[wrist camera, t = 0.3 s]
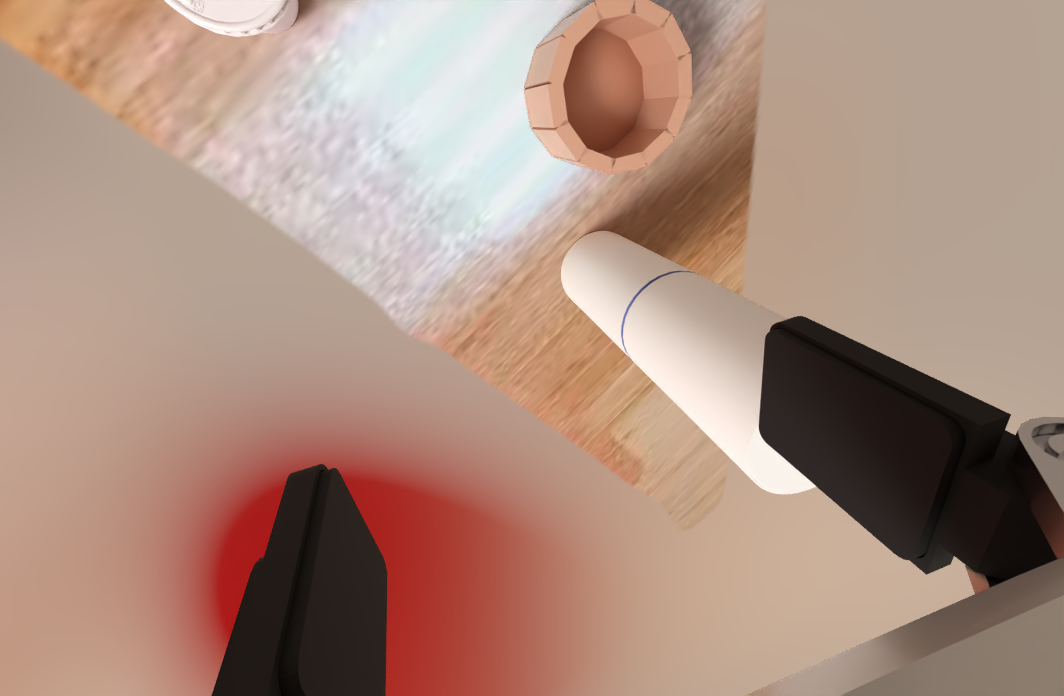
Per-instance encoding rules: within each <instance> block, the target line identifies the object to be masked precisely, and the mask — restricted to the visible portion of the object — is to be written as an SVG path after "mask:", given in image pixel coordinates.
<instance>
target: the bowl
mask: <svg viewBox="0 0 1064 696" xmlns="http://www.w3.org/2000/svg"><path fill="white" fill-rule="evenodd" d="M669 14H670V11H668V10H666V9H664V8H662V7H661V6H659V5H657V4H655V3H654V2H652V1H650V0H596V1H594V2H592V3H590V4H589V5H587V6H586V7H584V8H582V9H581V10H579V11H577V12H576V13H574V14H572V15H571V16H569V17H567V18H566V19H564V20H562V21H561V22H560V23H559V24H558V25H557V26H556V27H555V28H554V29H553V30H552V32H551V33H550V34H549V35H548V36H547V37H546V38H545V39H544V40H543V41H542V42H541V43H540V44H539V45H538V46H537V47H536V48H537V49H535V51H534V54H533V58H532V61H531V65H530V68H529V72H528V75H527V79H526V82H525V86H524V88H526V89H527V90H524V94H525V99H526V105H527V111H528V117H529V123H530V127H533V128H532V129H531V130H532V131H533V132H534V134H535V135H536V136H537V138H538V139H539V140H540V141H541V143H542V144H543V145H544V147H545V148H546V149H547V151H548V152H549V153H550V155H551V156H553V157H555V158H557V159H560V160H563V161H565V162H568V163H571V164H573V165H576V166H579V167H582V168H586V169H590V170H594V171H599V172H603V173H607V174H617V173H621V172H625V171H629V170H633V169H637V168H641V167H645V166H646V165H649V164H650V163H651V162H652V161H653V160H654V159H655V158H656V157H657V156H658V155H659V154H660V153H661V152H662V151H663V150H664V149H665V148H666V147H667V146H668V145H669V144H671V143H672V142H673V141H674V140H675V139H674V137H677V134H678V132H679V129H680V127H681V124H682V122H683V119H684V117H685V114H686V112H687V109H688V107H689V104H690V102H691V98H689V97H690V96H692V55H691V53H690V54H688V53H689V52H690V51H691V50H690V48H689V46H688V44H687V42H686V40H685V38H684V36H683V34H682V32H681V30H680V28H679V26H678V24H677V22H676V20H675V18H674V17H673V15H672V14H671V15H669Z"/></svg>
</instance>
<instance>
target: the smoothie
mask: <svg viewBox="0 0 1064 696" xmlns="http://www.w3.org/2000/svg"><path fill="white" fill-rule="evenodd" d="M165 1H166V2H167V3H168V4H169V5H170V6H171V7H173V8H174V9H175V10H176V11H178V12H179V13H181V14H182V15H184V16H185V17H187V18H188V19H190V20H191V21H192V22H194V23H195V24H197V25H199V26H202V27H204V28H206V29H208V30H211V31H213V32H215V33H219V34H224V35H230V36H236V37H240V36H250V35H257V34H259V33H261V32H264V33H281V32H284V31H286V30H287V29H289V28H290V27H291V26H292V25H293V24H294V22H295V20H296V18H297V14H298V0H165Z"/></svg>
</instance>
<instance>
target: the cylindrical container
mask: <svg viewBox="0 0 1064 696" xmlns="http://www.w3.org/2000/svg"><path fill="white" fill-rule="evenodd" d="M561 280H562V285H563V288H564V290H565V292H566V294H567V295H568V296H569V297H570V299H571V300H572V301H573V302H574V303H575V304H576V305H577V306H578V307H579V308H580V309H581V310H583V311H584V312H585V313H586V314H587V315H588V316H589V317H590V318H591V319H592V320H593V321H594V322H595V323H596V324H597V325H598V326H599V327H600V328H601V329H602V330H603V331H604V332H605V333H606V334H607V335H608V336H609V337H610V338H611V339H612V340H613V341H614V342H615V343H616V344H617V345H618V346H619V347H620V348H621V349H622V350H623V351H624V353H625V354H626V355H627V356H628V357H629V358H630V359H631V360H633V362H634V363H635V364H636V365H638V366H639V367H640V368H641V369H642V370H643V371H644V372H645V373H646V374H647V375H648V376H649V377H650V378H651V379H652V380H653V381H654V382H655V383H656V384H657V385H658V386H659V387H660V388H661V389H662V390H663V391H664V392H665V393H666V394H667V395H668V396H669V397H670V398H671V399H672V400H673V401H674V402H675V403H676V404H677V405H678V406H679V407H680V408H681V409H682V410H683V411H684V412H685V413H686V414H687V415H688V416H689V417H690V418H691V419H692V420H693V421H694V422H695V423H696V424H697V425H698V426H699V427H700V428H701V429H702V430H703V431H704V432H705V433H706V434H707V435H708V436H709V437H710V438H711V439H712V440H713V441H714V442H715V443H716V444H717V445H718V446H719V447H720V448H721V449H722V450H723V451H724V452H725V453H726V454H727V455H728V456H729V457H730V458H731V459H732V460H733V461H734V462H735V463H736V464H737V465H738V466H739V467H740V468H741V469H742V470H743V471H744V472H745V473H746V474H747V475H748V476H749V477H750V478H751V479H752V480H753V481H754V482H755V483H756V484H757V485H758V486H759V487H761V488H763V489H764V490H765V491H768V492H771V493H774V494H793V493H798V492H802V491H806V490H809V489H811V488H814V487H816V486H815V485H814V484H813V483H812V482H811V481H810V480H808V479H807V478H806V477H805V476H804V475H803V474H802V473H800V472H799V471H798V470H797V469H796V468H795V467H793V466H792V465H791V464H790V463H789V462H788V461H786V460H785V459H784V458H783V457H782V456H781V455H779V454H778V453H777V452H776V451H775V450H774V449H772V448H771V447H770V446H769V445H768V444H767V443H766V442H765V441H764V440H763V438H762V437H761V435H760V432H759V413H760V399H761V386H762V372H763V358H764V345H765V337H766V335H767V333H768V332H769V331H770V328H771V326H772V325H773V324H775V323H777V322H780V321H784V320H787V318H785V317H783V316H781V315H779V314H777V313H775V312H773V311H771V310H769V309H767V308H765V307H763V306H761V305H759V304H757V303H755V302H753V301H751V300H749V299H747V298H745V297H743V296H741V295H739V294H737V293H735V292H733V291H731V290H729V289H727V288H725V287H723V286H721V285H719V284H717V283H715V282H713V281H711V280H709V279H707V278H705V277H703V276H701V275H699V274H697V273H695V272H693V271H691V270H689V269H686V268H684V267H682V266H680V265H678V264H676V263H674V262H672V261H670V260H668V259H666V258H664V257H662V256H660V255H658V254H656V253H654V252H652V251H650V250H648V249H646V248H644V247H642V246H640V245H638V244H636V243H634V242H632V241H630V240H628V239H626V238H624V237H622V236H620V235H618V234H616V233H614V232H610V231H595V232H592V233H589V234H587V235H585V236H583V237H582V238H580V239H579V240H578V241H577V242H575V243H574V244H573V245H572V247H571V248H570V249H569V251H568V252H567V254H566V256H565V258H564V261H563V264H562V269H561Z"/></svg>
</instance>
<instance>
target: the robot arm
mask: <svg viewBox="0 0 1064 696" xmlns="http://www.w3.org/2000/svg"><path fill="white" fill-rule="evenodd" d="M1010 416H1011V414H1009V413H1006V412H1004V411H1002V410H1000V409H998V408H996V407H994V406H992V405H989V404H987V403H985V402H983V401H981V400H979V399H977V398H975V397H972V396H970V395H968V394H966V393H964V392H962V391H960V390H958V389H956V388H954V387H951V386H949V385H947V384H945V383H943V382H941V381H939V380H937V379H934V378H933V377H930V376H928V375H926V374H924V373H922V372H920V371H918V370H916V369H914V368H911V367H909V366H907V365H905V364H903V363H901V362H899V361H896V360H895V359H892V358H890V357H888V356H886V355H884V354H882V353H880V352H877V351H876V350H873V349H871V348H869V347H867V346H865V345H863V344H861V343H859V342H856V341H854V340H852V339H850V338H848V337H846V336H844V335H842V334H840V333H838V332H835V331H833V330H831V329H829V328H827V327H825V326H823V325H820V324H819V323H816V322H814V321H812V320H810V319H808V318H806V317H803V316H797V317H793V318H790V319H787V320H784V321H780V322H777V323H775V324H773V325H772V326H771V328H770V331H769V332H768V333H767V335H766V337H765V345H764V358H763V372H762V386H761V399H760V413H759V432H760V435H761V437H762V438H763V440H764V441H765V442H766V443H767V444H768V445H769V446H770V447H771V448H772V449H774V450H775V451H776V452H777V453H778V454H779V455H781V456H782V457H783V458H784V459H785V460H786V461H788V462H789V463H790V464H791V465H792V466H793V467H795V468H796V469H797V470H798V471H799V472H800V473H802V474H803V475H804V476H805V477H806V478H807V479H808V480H810V481H811V482H812V483H813V484H814V485H815V486H817V487H818V488H819V489H820V490H821V491H823V492H824V493H825V494H826V495H827V496H828V497H829V498H831V499H832V500H833V501H834V502H835V503H836V504H838V505H839V506H840V507H841V508H842V509H843V510H845V511H846V512H847V513H848V514H849V515H850V516H851V517H853V518H854V519H855V520H856V521H857V522H858V523H860V524H861V525H862V526H863V527H864V528H865V529H867V530H868V531H869V532H870V533H871V534H872V535H873V536H875V537H876V538H877V539H878V540H879V541H880V542H882V543H883V544H884V545H885V546H886V547H887V548H889V549H890V550H891V551H892V552H893V553H894V554H896V555H897V556H899V557H900V558H902V559H905V560H910V561H911V562H912V563H913V564H915V565H916V566H917V567H918V568H919V569H920V570H922V571H923V572H924V573H925V574H929V573H931V572H933V571H936V570H938V569H940V568H943V567H945V566H947V565H950V564H951V562H952V559H953V557H954V556H955V557H957V558H958V559H959V560H960V561H962V562H963V563H964V564H965V567H966V570H967V572H968V575H969V578H970V581H971V584H972V586H973V590H974V592H975V595H972V596H970V597H968V598H966V599H963V600H961V601H959V602H956V603H954V604H952V605H950V606H947V607H945V608H943V609H940V610H938V611H936V612H933V613H931V614H929V615H927V616H924V617H922V618H920V619H917V620H915V621H913V622H911V623H908V624H906V625H904V626H902V627H899V628H897V629H894V630H892V631H890V632H888V633H885V634H883V635H881V636H879V637H876V638H874V639H872V640H870V641H867V642H865V643H863V644H860V645H858V646H856V647H854V648H851V649H850V650H847V651H845V652H842V653H840V654H838V655H836V656H834V657H831V658H829V659H827V660H824V661H822V662H820V663H818V664H816V665H813V666H811V667H808V668H806V669H804V670H802V671H799V672H797V673H795V674H793V675H790V676H788V677H786V678H784V679H781V680H779V681H777V682H775V683H772V684H770V685H768V686H766V687H763V688H761V689H759V690H757V691H754V692H752V693H750V694H748V695H745V696H1064V418H1060V417H1059V418H1058V417H1042V418H1036V419H1030V420H1029V421H1026V422H1024V423H1022V424H1021V426H1020V427H1019V429H1018V431H1017V434H1016V435H1014V434H1011V433H1009V432H1008V431H1005V428H1006V425H1007V423H1008V421H1009V418H1010ZM386 620H387V569H386V565H385V561H384V558H383V556H382V554H381V552H380V550H379V548H378V546H377V544H376V543H375V540H374V539H373V537H372V535H371V533H370V531H369V529H368V527H367V525H366V523H365V522H364V519H363V517H362V516H361V514H360V511H359V510H358V508H357V506H356V504H355V502H354V500H353V498H352V496H351V494H350V492H349V490H348V488H347V486H346V484H345V482H344V481H343V478H342V477H341V475H340V473H339V471H338V470H337V469H336V468H332V469H329V470H328V469H327V467H326V466H325V465H323V464H319V465H317V466H313V467H310V468H307V469H304V470H300V471H297V472H294V473H291V474H290V475H289V477H288V479H287V482H286V485H285V489H284V492H283V495H282V499H281V502H280V505H279V509H278V512H277V515H276V519H275V522H274V525H273V529H272V532H271V535H270V539H269V542H268V545H267V549H266V552H265V555H264V557H263V558H260V559H259V560H258V561H257V562H256V563H255V565H254V567H253V569H252V572H251V574H250V577H249V580H248V583H247V586H246V590H245V593H244V596H243V599H242V602H241V605H240V608H239V612H238V615H237V618H236V621H235V624H234V628H233V631H232V633H231V637H230V640H229V643H228V646H227V649H226V653H225V655H224V659H223V662H222V665H221V668H220V671H219V674H218V678H217V681H216V684H215V687H214V690H213V693H212V696H385V685H386V623H387V622H386Z"/></svg>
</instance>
